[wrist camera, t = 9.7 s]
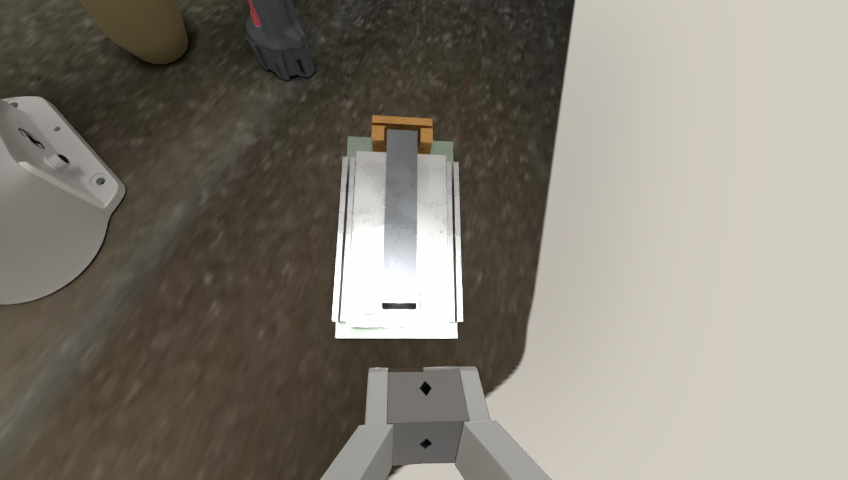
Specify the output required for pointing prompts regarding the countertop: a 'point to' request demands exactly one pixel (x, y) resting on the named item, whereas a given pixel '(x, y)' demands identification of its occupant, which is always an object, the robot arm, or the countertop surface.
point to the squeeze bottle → (142, 27)
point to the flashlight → (279, 38)
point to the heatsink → (365, 239)
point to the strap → (400, 222)
